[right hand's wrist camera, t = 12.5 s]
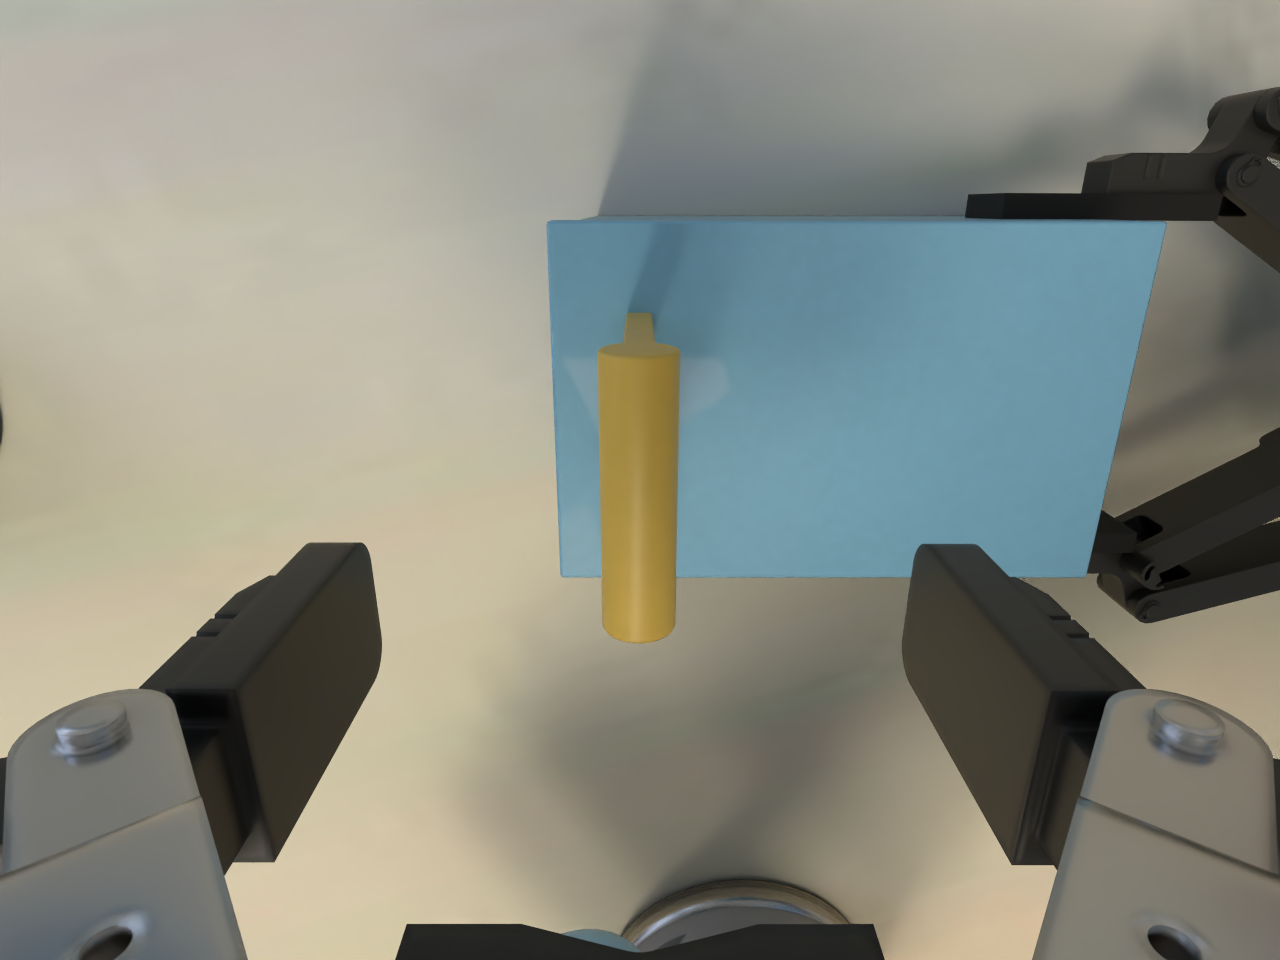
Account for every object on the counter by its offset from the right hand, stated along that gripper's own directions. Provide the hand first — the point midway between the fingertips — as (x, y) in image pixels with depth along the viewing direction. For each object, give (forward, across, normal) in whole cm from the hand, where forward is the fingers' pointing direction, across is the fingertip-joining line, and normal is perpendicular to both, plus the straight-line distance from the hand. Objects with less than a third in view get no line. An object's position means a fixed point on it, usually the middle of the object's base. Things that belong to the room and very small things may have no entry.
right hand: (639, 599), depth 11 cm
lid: (+12, -6, 0) cm, 13 cm away
